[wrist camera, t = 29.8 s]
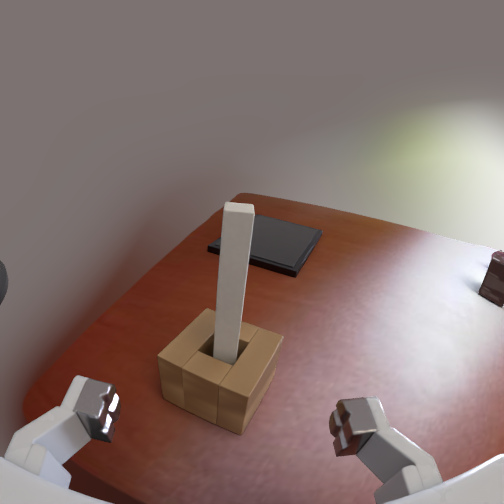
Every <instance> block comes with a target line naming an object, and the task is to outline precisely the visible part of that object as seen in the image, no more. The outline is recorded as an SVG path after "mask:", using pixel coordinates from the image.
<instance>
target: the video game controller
mask: <svg viewBox="0 0 504 504" xmlns="http://www.w3.org/2000/svg"><path fill="white" fill-rule="evenodd" d="M496 253H497V254H498V255H500V256H502V257H504V252H502V250H500V251H496V252H494V253H493V254H492V258H493V257H494V255H495V254H496Z"/></svg>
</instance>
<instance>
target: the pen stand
mask: <svg viewBox="0 0 504 504" xmlns="http://www.w3.org/2000/svg"><path fill="white" fill-rule="evenodd" d="M215 316H216V312H215V311H213V310H210V309H208V308H206V309H205V310H204V311H203V312H202V313H201V314H200V315H199V316H198V317H197V318H196V319H195V320H194V321H193V322H192V323H191V324H190V325H189V326H188V327H187V328H185V329H184V330H183V331H182V332H181V333H180V334H179V335H178V336H177V337H176V338H175V339H174V340H173V341H172V342H171V343H170V344H169V345H168V346H167V347H166V348H165V349H164V350H162V351H161V352H160V353H159V354H158V355H157V357H158V365H159V372H160V380H161V386H162V393H163V398H164V399H165V400H167V401H169V402H171V403H173V404H175V405H177V406H178V407H180V408H182V409H185V410H186V411H188V412H190V413H192V414H194V415H196V416H198V417H200V418H203V419H205V420H207V421H209V422H211V423H213V424H215V425H216V424H217V425H218V426H220V427H222V428H225V429H227V430H229V431H232V432H234V433H236V434H239V435H242V433H243V432H244V430H245V428H246V427H247V425H248V423H249V421H250V420H251V418H252V416H253V414H254V413H255V411H256V409H257V407H258V405H259V404H260V402H261V400H262V398H263V396H264V394H265V393H266V391H267V389H268V387H269V385H270V383H271V381H272V379H273V377H274V373H275V369H276V365H277V361H278V357H279V353H280V349H281V345H282V341H283V335H280V334H277V333H274V332H271V331H268V330H265V329H262V328H259V327H256V326H253V325H251V324H248V323H245V322H242V321H241V326H240V334H239V342H238V351H237V359H236V363H235V364H234V365H233V366H232V365H230V364H227V363H225V362H223V361H220V360H218V359H215V358H213V351H214V333H215Z"/></svg>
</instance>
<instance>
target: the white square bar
mask: <svg viewBox="0 0 504 504" xmlns="http://www.w3.org/2000/svg"><path fill="white" fill-rule="evenodd" d="M254 215H255V213H254V206H253V205H252V204H242V203H232V202H225V206H224V211H223V222H222V234H221V246H220V259H219V272H218V286H217V301H216V316H215V333H214V351H213V358H215V359H218V360H220V361H223V362H225V363H227V364H230V365H232V366H233V365H234V364H235V363H236V359H237V351H238V342H239V334H240V326H241V318H242V310H243V302H244V294H245V286H246V278H247V270H248V262H249V254H250V246H251V239H252V231H253V223H254Z"/></svg>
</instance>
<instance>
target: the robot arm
mask: <svg viewBox="0 0 504 504" xmlns="http://www.w3.org/2000/svg"><path fill="white" fill-rule="evenodd" d="M115 393H116V388H115V385H114V384H109V383H105V382H101V381H97V380H93V379H90V378H86V377H82V376H78V375H77V376H76V377H75V378H74V379H73V381H72V383H71V385H70V387H69V389H68V391H67V393H66V396H65V398H64V400H63V402H62V404H61V406H60V407H58V406H56V407H55V408H53V409H52V410H50V411H49V412H47V413H45V414H44V415H42V416H40V417H39V418H37V419H36V420H34V421H32V422H31V423H29V424H28V425H26V426H24V427H23V428H21V429H19V430H18V431H16V432H15V434H14V436H13V438H12V440H11V442H10V444H9V447H8V449H7V451H6V454H5V456H4V458H2V457H1V456H0V504H113V503H109V502H106V501H102V500H99V499H96V498H92V497H90V496H87V495H84V494H81V493H78V492H75V491H72V490H70V489H68V487H69V483H70V480H71V475H70V474H69V472H67V471H66V469H65V468H64V467H63V466H62V464H63V463H65V462H66V461H67V460H68V459H69V458H70V457H72V456H73V455H74V454H75V453H76V452H77V451H78V450H79V449H81V448H82V447H83V446H84V445H85V444H86V443H87V442H89V441H90V440H91V438H93V439H97V440H101V441H105V442H109V443H111V442H112V439H113V435H114V432H115V427H114V425H113V423H114V422H116V421H117V420H118V419H119V415H120V408H121V405H120V400H119V397H118V396H117V395H115ZM336 407H337V409H336V410H335V411H333V412H332V414H331V416H330V420H329V428H330V433H331V434H332V435H333V436H334V437H335V440H334V442H333V445H334V449H335V453H336V457H338V456H347V455H355V454H357V455H356V456H357V457H358V458H359V459H360V460H361V461H362V462H363V463H364V464H365V465H366V466H367V467H368V468H369V469H370V470H371V471H372V472H373V473H374V474H375V475H376V476H377V477H378V478H379V479H380V480H381V481H382V482H383V483H384V484H383V485H382V486H381V487H379V488H378V489H377V490H376V491H375V492H374V497H375V501H376V504H504V454H499V455H497V456H495V457H493V458H491V459H490V460H488V461H486V462H484V463H482V464H480V465H479V466H477V467H475V468H473V469H471V470H469V471H467V472H465V473H463V474H461V475H458V476H456V477H454V478H452V479H450V480H447V481H445V482H443V480H442V477H441V475H440V472H439V470H438V467H437V465H436V463H435V460H434V458H433V457H432V456H431V455H429V454H428V453H427V452H425V451H424V450H423V449H421V448H420V447H419V446H417V445H416V444H415V443H413V442H412V441H410V440H409V439H408V438H406V437H405V436H404V435H403V434H401V433H400V432H399V431H397V430H396V429H395V428H390V425H389V423H388V420H387V418H386V415H385V413H384V410H383V408H382V406H381V403H380V401H379V398H377V397H376V396H373V397H366V398H363V397H362V398H352V399H342V400H339V401H338V403H337V404H336Z"/></svg>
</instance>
